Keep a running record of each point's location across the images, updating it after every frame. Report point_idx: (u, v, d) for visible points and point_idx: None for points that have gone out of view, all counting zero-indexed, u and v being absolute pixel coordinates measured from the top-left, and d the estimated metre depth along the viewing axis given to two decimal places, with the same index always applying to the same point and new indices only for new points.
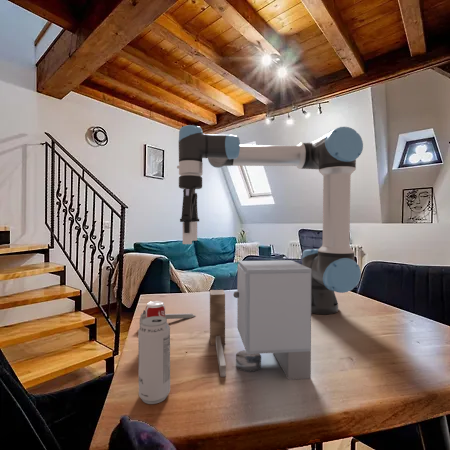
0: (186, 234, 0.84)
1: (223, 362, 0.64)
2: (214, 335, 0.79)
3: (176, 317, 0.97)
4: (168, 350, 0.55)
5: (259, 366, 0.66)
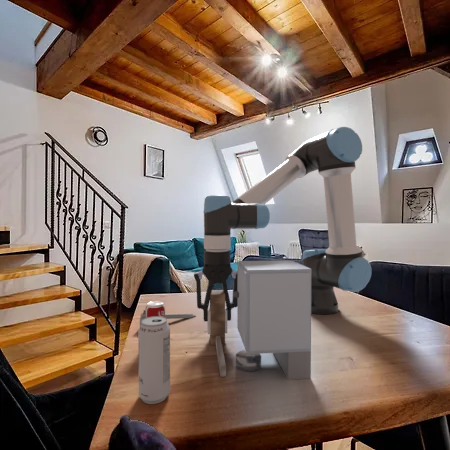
0: None
1: (223, 362, 0.64)
2: (214, 335, 0.79)
3: (176, 317, 0.97)
4: (168, 350, 0.55)
5: (259, 366, 0.66)
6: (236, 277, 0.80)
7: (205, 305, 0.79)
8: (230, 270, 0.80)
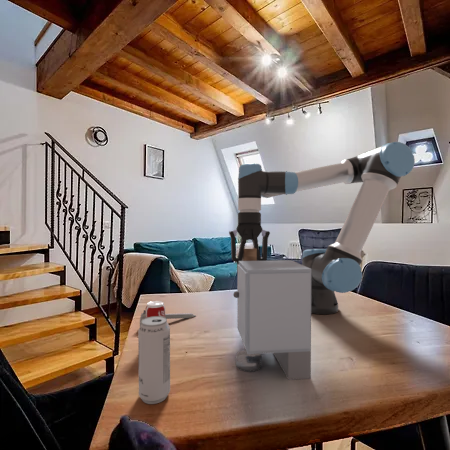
0: None
1: None
2: None
3: (176, 317, 0.97)
4: (168, 350, 0.55)
5: (259, 366, 0.66)
6: (266, 235, 0.93)
7: (239, 258, 0.92)
8: (260, 229, 0.93)
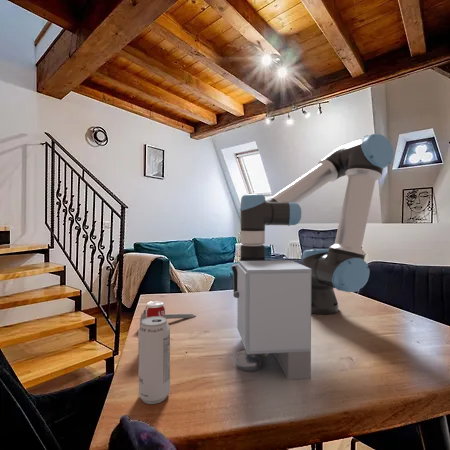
0: None
1: None
2: None
3: (176, 317, 0.97)
4: (168, 350, 0.55)
5: (259, 366, 0.66)
6: None
7: None
8: None
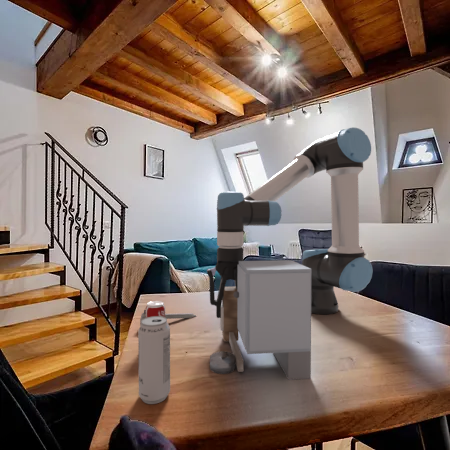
0: (220, 318, 0.81)
1: (240, 357, 0.64)
2: (227, 331, 0.79)
3: (177, 317, 0.97)
4: (168, 350, 0.55)
5: (233, 367, 0.65)
6: None
7: (218, 301, 0.80)
8: None
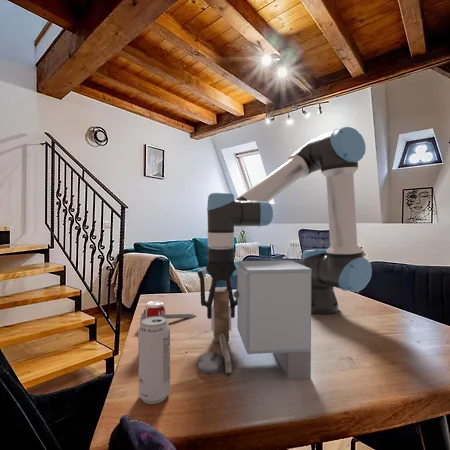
0: (211, 319, 0.81)
1: (228, 358, 0.64)
2: (218, 332, 0.79)
3: (177, 317, 0.97)
4: (168, 350, 0.55)
5: (222, 368, 0.65)
6: None
7: (209, 302, 0.80)
8: (234, 267, 0.80)
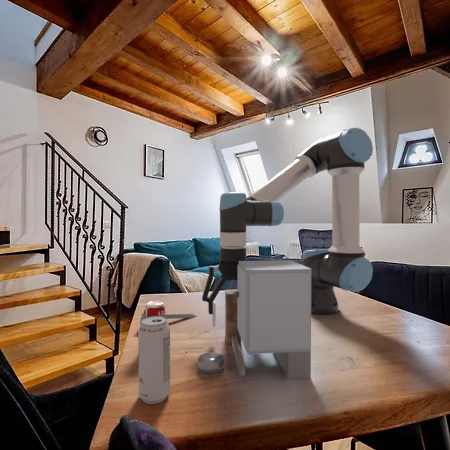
0: (212, 314, 0.81)
1: (242, 361, 0.65)
2: (230, 334, 0.79)
3: (177, 317, 0.97)
4: (168, 350, 0.55)
5: (222, 368, 0.65)
6: None
7: (211, 298, 0.80)
8: None
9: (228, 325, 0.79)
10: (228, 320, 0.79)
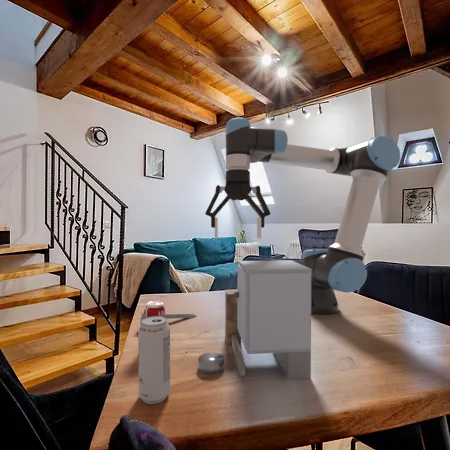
0: None
1: (242, 361, 0.65)
2: (230, 334, 0.79)
3: (177, 317, 0.97)
4: (168, 350, 0.55)
5: (222, 368, 0.65)
6: (257, 190, 0.88)
7: (214, 212, 0.87)
8: (249, 187, 0.88)
9: (228, 325, 0.79)
10: (228, 320, 0.79)
